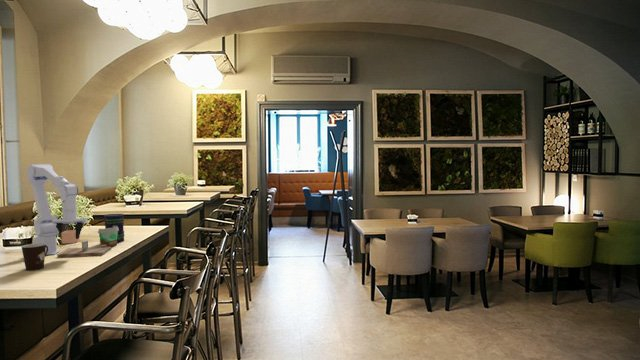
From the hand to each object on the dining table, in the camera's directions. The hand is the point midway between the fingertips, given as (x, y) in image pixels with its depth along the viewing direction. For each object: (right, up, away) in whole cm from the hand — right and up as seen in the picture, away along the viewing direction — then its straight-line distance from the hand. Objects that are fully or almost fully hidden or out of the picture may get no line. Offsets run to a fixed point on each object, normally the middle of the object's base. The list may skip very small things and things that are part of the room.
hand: (70, 238), depth 209 cm
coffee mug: (-3, -10, -19) cm, 22 cm away
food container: (+7, -8, +27) cm, 29 cm away
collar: (0, -2, 0) cm, 2 cm away
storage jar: (+2, -7, +40) cm, 41 cm away
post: (+2, -7, +9) cm, 12 cm away
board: (+2, -8, +9) cm, 13 cm away
